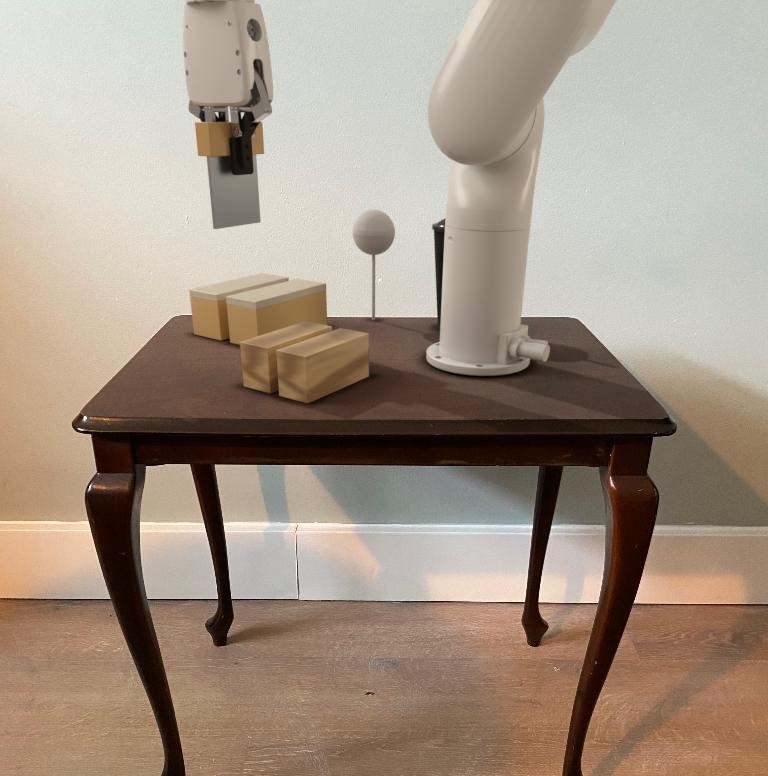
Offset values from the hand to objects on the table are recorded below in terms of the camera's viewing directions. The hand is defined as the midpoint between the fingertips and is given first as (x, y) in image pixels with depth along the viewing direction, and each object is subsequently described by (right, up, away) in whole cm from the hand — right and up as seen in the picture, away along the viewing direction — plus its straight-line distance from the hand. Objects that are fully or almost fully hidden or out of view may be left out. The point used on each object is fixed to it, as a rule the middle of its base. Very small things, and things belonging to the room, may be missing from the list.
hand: (233, 172), depth 89 cm
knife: (0, -5, +3) cm, 6 cm away
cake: (+1, -16, +12) cm, 20 cm away
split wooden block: (+10, -27, -7) cm, 29 cm away
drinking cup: (+28, -16, +14) cm, 35 cm away
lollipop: (+17, -13, +18) cm, 28 cm away
